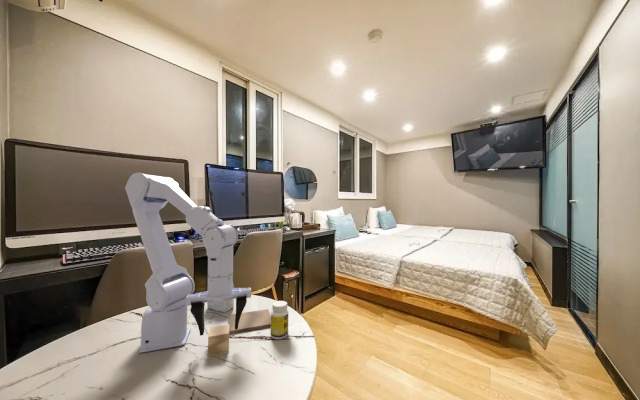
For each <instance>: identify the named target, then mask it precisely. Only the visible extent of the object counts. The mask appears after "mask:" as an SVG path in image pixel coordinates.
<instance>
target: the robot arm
mask: <svg viewBox="0 0 640 400" xmlns="http://www.w3.org/2000/svg"><path fill="white" fill-rule="evenodd" d="M179 184H180V183H178V182H177V181H175V180H174V179H173V178H172V177H170V176H161V175H154V174H147V173H143V172H134V173H132V174H131V175H130V177H129V178H128V180H127V182H126V184H125V187H124V190H125V192H126V194H127V197H128V202H129V204H130V207H131V209H132V215H133V217H134V221H135V223H136V226H137V229H138V232H139V235H140V238H141V241H142V245H143V247H144V250H145V253H146V256H147V259H148V262H149V265H150V270H151V271H152V274H151V275H150V277H149V278H148V279H147V280H146V282H145V283H144V286H145V290H146V295H145V296H146V297H145V300H146V303H147V306H148V308H147V307H146V309H145V310H144V312H143V314H142V319H141V324H140V325H141V326H140V329H141V330H140V349H139V353H140V354H141V353H147V352H152V351H158V350H163V349H169V348H175V347H176V348H177V347H181V346H184V345H186V343H187V341H188V337H189V335H190V333H191V329H192V328H191V327H188V306H190V310H189V311H190V313H191V315H192V316H193V318H194V319H195V322H196V324H197V327H198V331H199V336H204V333H205V306H206V305H205V303H207V302H213V301H223V300H228V299H234V300H235V314H236V316H235V330H236V329H238V324H239V320H240V317H241V314H242V313H243V311H244V309H245V307H246V305H247V301H248V300H247V299H250V298H252V288H251V287H234V288H233V283H234V282H233V281H234V245H236V243H237V242H238V240H239V233H238V230H237V229H236V227H235V226H234V225H233V224H231V223H230V224H229V223H225V222H224V220H222V219H220V218H219V217H217V216H216V215H215V214H213V212H212V209H211V208H210V207H209V206H203V205H197V204H196V203H195V202H194V201H193V200H192V199H191V198H190V197H189V196H188V195H187V194H186V193H185V192H184V191H183V190H182V189H181V188H180V185H179ZM168 203H170V204H171V205H172V206H173V207H175V208H176V209H177V210H179V211H180V212H181V213H182V214H184V215H185V222H186V224H188V225H189V227H191V228H192V229H193V230H194V231H195V232H196V233H197V234H199V236H200V237H202V244H203V246H204V248H205V251H206V256H207V290H206V291H201V292H196V293H194V292H195V287H196V284H195V281H194V279H193V278H192V276H190V274H189V273H188V269H187V268H185V267H183V266H181V265H179V264H178V263H177V261H176V258H175V256H174V253H173V250H172V247H171V243H170V241H169V238H168V235H167V233H166V229H165V227H164V223H163V221H162V218H161V215H160V211H161V210H162V209H163V208H165V207H166V205H167V204H168Z"/></svg>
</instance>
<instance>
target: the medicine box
mask: <svg viewBox="0 0 640 400" xmlns="http://www.w3.org/2000/svg"><path fill="white" fill-rule="evenodd" d="M233 288H235V284H234V282H233ZM234 301H235V299H228V300H223V301H213V302H206V303H207V307H206V308H207V309H210V310H213V311H217V312H221V313H227V312H229V311H230V310H232V309H234V306H235V305H234V304H235V303H234ZM231 308H232V309H231Z"/></svg>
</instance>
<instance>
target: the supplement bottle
mask: <svg viewBox="0 0 640 400" xmlns="http://www.w3.org/2000/svg"><path fill="white" fill-rule="evenodd" d="M271 309H272V310H271V312H270V316H271V327H270V337H271V339H273V340H283V339H286V338H287V337H288V335H289V309H288V302H287V301H284V300H277V301H274V302H273V303H272V307H271Z"/></svg>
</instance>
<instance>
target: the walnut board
mask: <svg viewBox="0 0 640 400" xmlns="http://www.w3.org/2000/svg"><path fill="white" fill-rule="evenodd" d="M235 316H236V313H233V314H229V316H228V324H229V335H230V334H236V333H237V334H238V333H243V332H247V331H248V332H249V331H252V330H259V329H266V328H271V312H270V310H269V309H268V308H267V309H266V308H265V309H260V310H253V311H252V310H251V311H246V312H242V314H241V317H240V320H239V324H238V329H236V330H235Z"/></svg>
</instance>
